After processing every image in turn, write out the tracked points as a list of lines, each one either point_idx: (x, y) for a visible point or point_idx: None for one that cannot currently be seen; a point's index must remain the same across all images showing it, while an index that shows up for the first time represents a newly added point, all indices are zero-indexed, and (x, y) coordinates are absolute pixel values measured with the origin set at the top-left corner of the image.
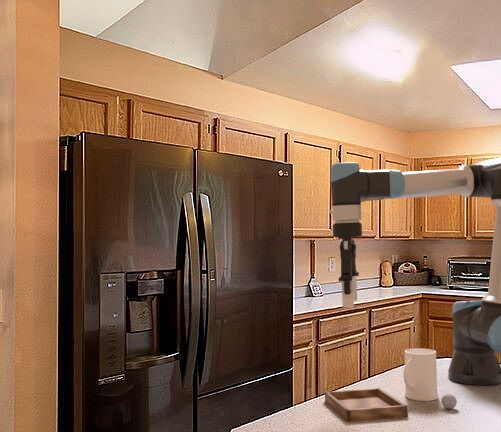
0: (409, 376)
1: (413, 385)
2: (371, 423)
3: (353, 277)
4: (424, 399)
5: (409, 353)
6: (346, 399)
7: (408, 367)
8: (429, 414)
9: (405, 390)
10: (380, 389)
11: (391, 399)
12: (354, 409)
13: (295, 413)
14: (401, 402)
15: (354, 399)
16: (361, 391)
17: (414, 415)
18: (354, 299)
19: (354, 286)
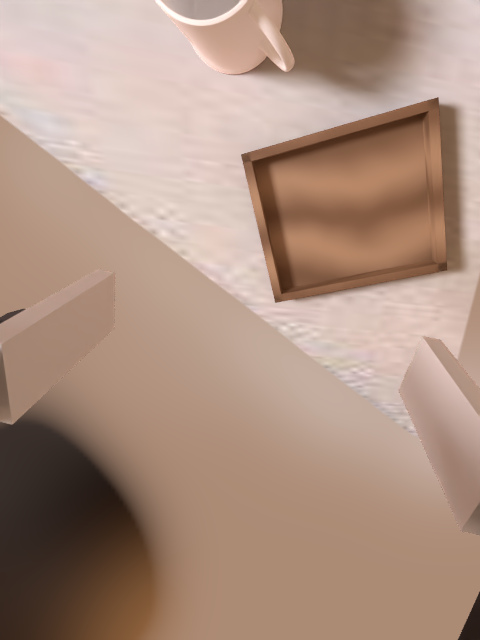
0: (250, 42)
1: (265, 38)
2: (464, 210)
3: (11, 363)
4: (281, 14)
5: (241, 9)
6: (286, 249)
7: (243, 35)
8: (418, 27)
9: (223, 67)
10: (255, 153)
11: (346, 134)
12: (442, 251)
13: (359, 360)
14: (400, 110)
15: (287, 229)
16: (262, 209)
17: (420, 79)
18: (110, 290)
19: (62, 321)
